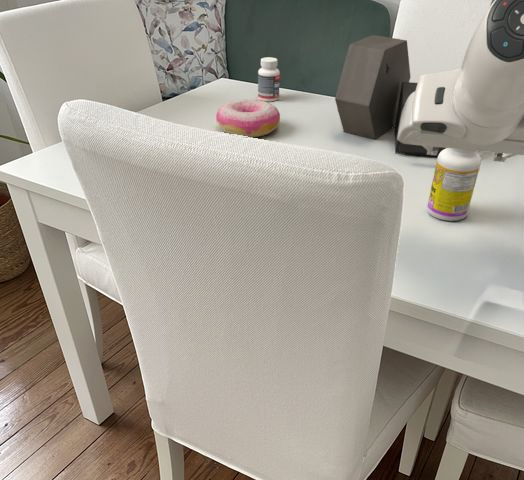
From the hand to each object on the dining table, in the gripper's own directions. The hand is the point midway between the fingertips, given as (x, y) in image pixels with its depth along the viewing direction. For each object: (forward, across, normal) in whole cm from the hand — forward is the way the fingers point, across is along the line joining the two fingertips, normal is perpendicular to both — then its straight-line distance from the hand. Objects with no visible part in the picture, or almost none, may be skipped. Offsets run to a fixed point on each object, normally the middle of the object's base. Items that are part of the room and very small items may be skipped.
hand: (465, 153), depth 83 cm
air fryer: (+36, +4, -18) cm, 40 cm away
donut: (+34, +42, -16) cm, 56 cm away
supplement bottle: (+13, 0, +5) cm, 14 cm away
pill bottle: (+50, +43, -32) cm, 73 cm away
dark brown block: (+39, +16, -21) cm, 47 cm away
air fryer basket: (+32, +4, -16) cm, 36 cm away
